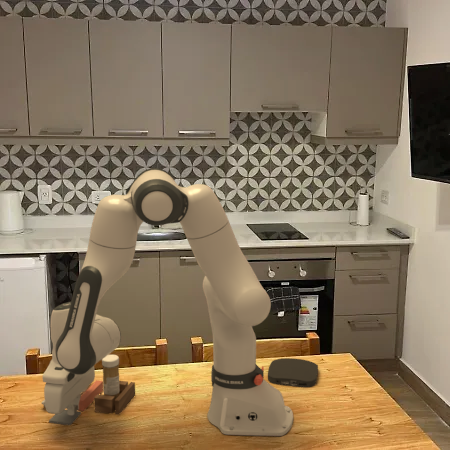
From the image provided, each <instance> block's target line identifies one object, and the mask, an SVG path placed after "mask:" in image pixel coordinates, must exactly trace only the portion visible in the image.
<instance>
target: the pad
mask: <svg viewBox="0 0 450 450" xmlns="http://www.w3.org/2000/svg"><path fill="white" fill-rule="evenodd" d="M81 415H82V411H79V410H78V411H77V412H76V413H75V414H74V415H68V414H67V409H65V410H64V411H63V412H62V413H61V414H54V415H53V416H51V418H50V419H49V420H48V423H50V424H55V425H63V426H71V425H72V424H74V422H75V421H76V420H77V418H79V417H80V416H81Z"/></svg>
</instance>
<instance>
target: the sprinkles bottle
mask: <svg viewBox="0 0 450 450" xmlns="http://www.w3.org/2000/svg"><path fill="white" fill-rule="evenodd" d="M101 366H102V381H103V395H107V396H115V399H116V398H117V397H118V396H119V391H120V388H119V381H120V372H119V371H120V369H119V366H120V357H119V356H118V355H116V354H108V355H107V356H106V357H105V358H103V359H102V360H101Z"/></svg>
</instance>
